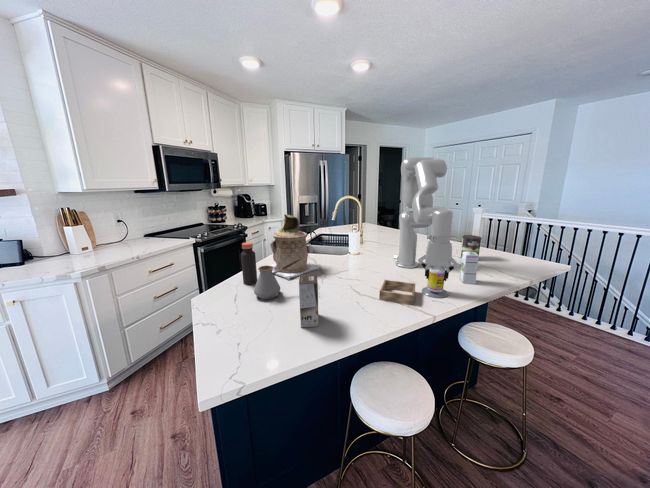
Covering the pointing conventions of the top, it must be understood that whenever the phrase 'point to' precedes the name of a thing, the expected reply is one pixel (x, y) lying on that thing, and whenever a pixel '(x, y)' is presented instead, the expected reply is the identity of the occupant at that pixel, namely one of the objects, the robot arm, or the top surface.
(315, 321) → the coffee box
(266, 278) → the coffee pot
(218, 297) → the top surface
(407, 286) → the wooden box
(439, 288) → the supplement bottle
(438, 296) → the trivet
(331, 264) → the top surface
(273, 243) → the cookie jar
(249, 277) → the vinegar
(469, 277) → the syrup box
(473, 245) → the coffee can
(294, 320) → the top surface
